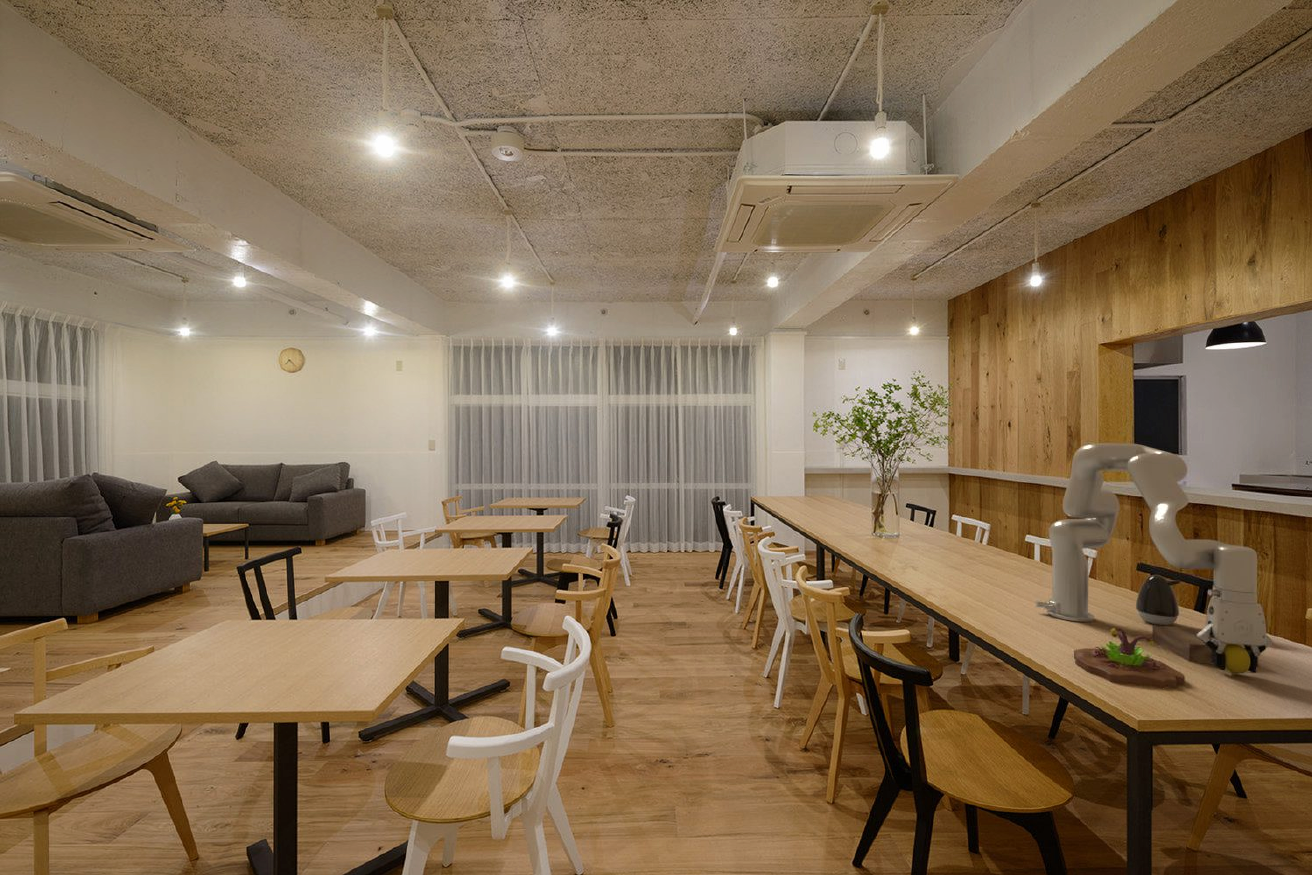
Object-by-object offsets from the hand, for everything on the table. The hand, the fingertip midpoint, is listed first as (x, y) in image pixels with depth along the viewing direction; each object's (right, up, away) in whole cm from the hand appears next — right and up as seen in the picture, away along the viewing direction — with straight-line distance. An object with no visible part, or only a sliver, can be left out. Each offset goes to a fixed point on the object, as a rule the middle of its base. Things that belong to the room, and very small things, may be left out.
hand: (1234, 668), depth 139 cm
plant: (-26, -2, +2) cm, 26 cm away
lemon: (0, -2, 0) cm, 2 cm away
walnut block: (+6, -2, +14) cm, 15 cm away
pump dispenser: (+16, -2, +39) cm, 43 cm away
